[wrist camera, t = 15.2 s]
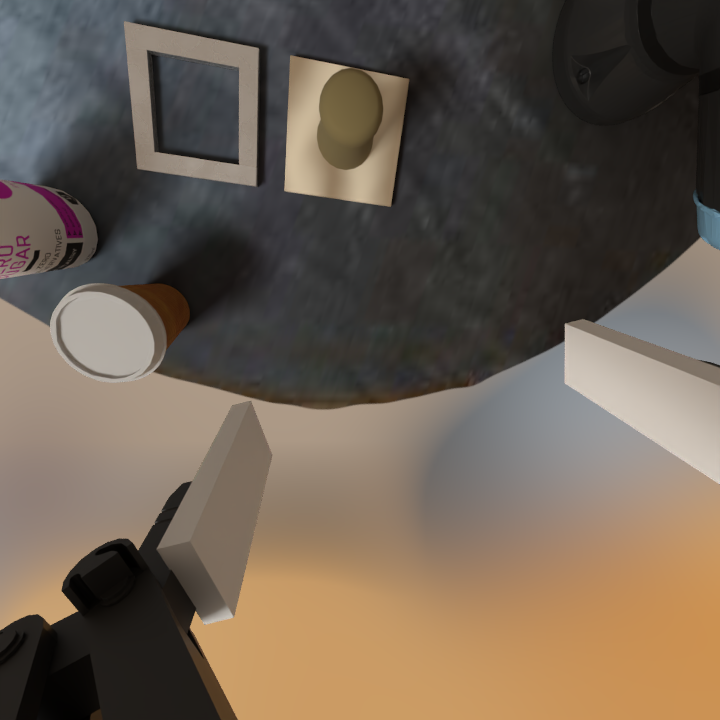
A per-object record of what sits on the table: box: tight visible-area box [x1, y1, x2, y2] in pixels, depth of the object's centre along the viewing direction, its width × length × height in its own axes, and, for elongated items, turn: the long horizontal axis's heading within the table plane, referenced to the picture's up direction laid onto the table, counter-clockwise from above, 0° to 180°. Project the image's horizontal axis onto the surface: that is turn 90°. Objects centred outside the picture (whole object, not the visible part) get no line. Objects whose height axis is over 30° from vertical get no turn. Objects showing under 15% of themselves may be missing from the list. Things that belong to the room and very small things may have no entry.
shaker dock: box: [124, 21, 260, 187], centre depth 34 cm, size 12×12×1 cm
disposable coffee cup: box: [50, 283, 190, 382], centre depth 36 cm, size 10×10×12 cm
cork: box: [317, 68, 383, 170], centre depth 31 cm, size 6×6×11 cm
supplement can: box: [0, 180, 98, 279], centre depth 31 cm, size 8×8×15 cm
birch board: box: [285, 55, 409, 207], centre depth 37 cm, size 12×12×1 cm
